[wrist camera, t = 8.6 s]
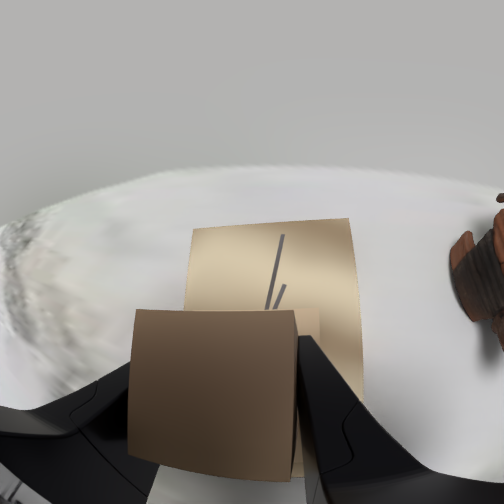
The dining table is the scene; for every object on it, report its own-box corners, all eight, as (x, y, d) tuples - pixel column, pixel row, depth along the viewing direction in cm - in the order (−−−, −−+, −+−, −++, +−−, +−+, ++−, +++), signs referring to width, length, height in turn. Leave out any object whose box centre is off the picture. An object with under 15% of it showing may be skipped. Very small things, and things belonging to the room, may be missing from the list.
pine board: (354, 464, 11) (358, 472, 10) (187, 458, 13) (176, 463, 12) (346, 230, 18) (348, 218, 16) (200, 239, 19) (193, 228, 18)
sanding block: (314, 438, 11) (323, 527, 3) (216, 435, 12) (106, 486, 4) (315, 326, 14) (327, 248, 6) (220, 327, 14) (121, 260, 6)
